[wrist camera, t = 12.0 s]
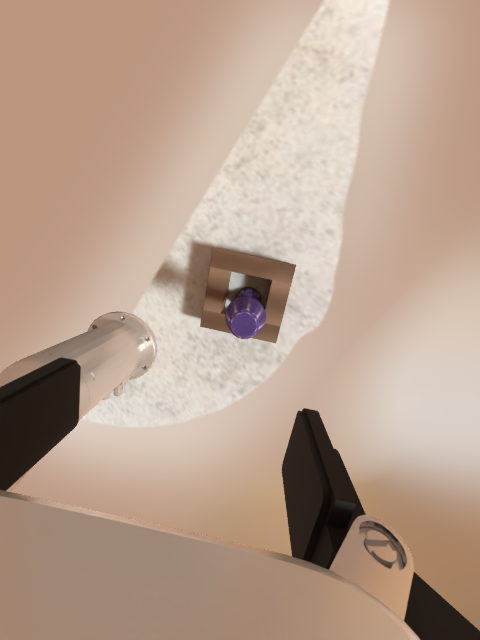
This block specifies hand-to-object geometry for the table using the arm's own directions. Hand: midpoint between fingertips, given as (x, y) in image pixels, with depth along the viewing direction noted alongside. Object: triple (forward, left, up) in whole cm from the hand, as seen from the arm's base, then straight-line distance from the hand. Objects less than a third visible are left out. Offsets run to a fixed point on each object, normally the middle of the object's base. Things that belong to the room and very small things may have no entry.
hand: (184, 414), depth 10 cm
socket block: (+1, -1, -31) cm, 31 cm away
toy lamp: (0, -1, -31) cm, 31 cm away
